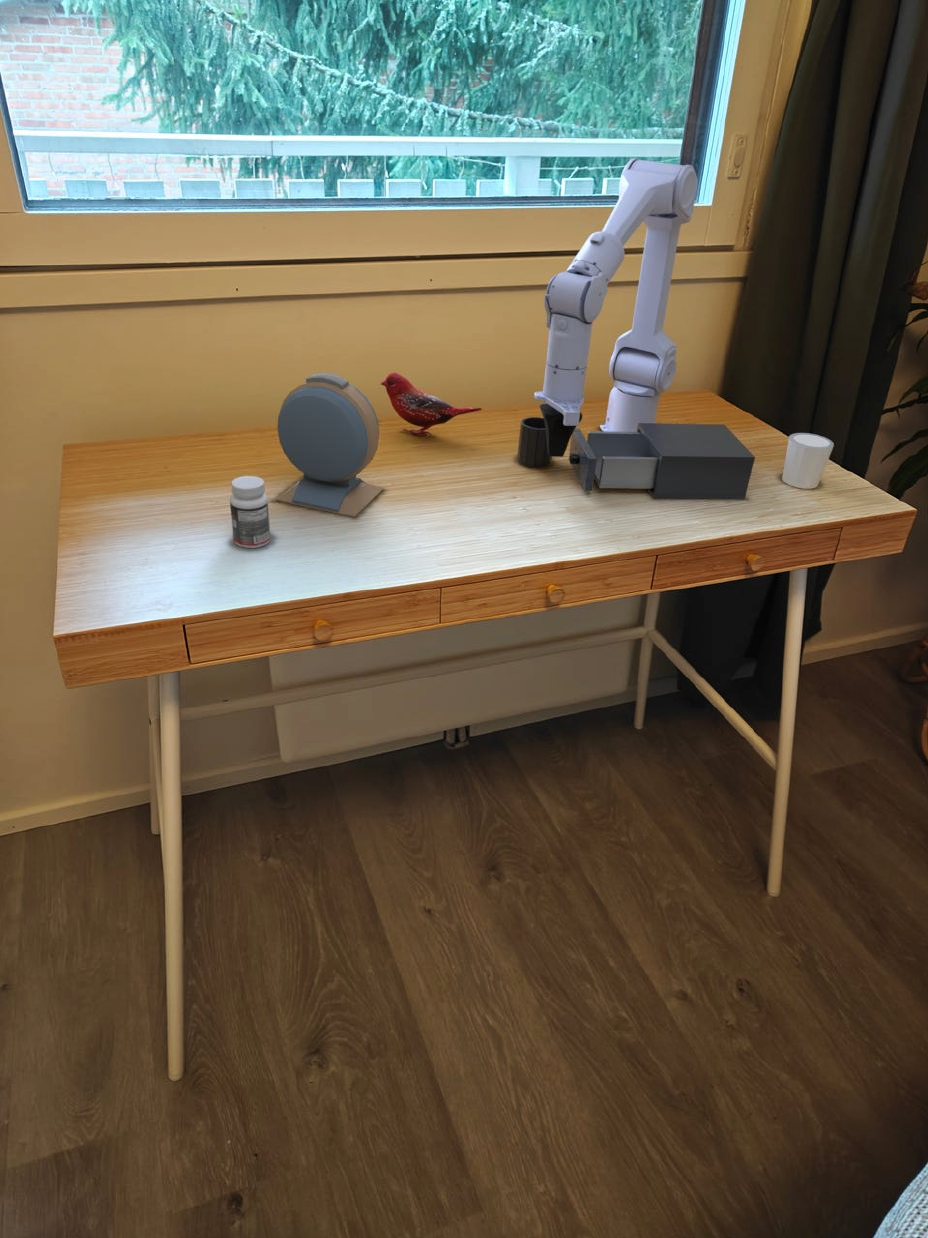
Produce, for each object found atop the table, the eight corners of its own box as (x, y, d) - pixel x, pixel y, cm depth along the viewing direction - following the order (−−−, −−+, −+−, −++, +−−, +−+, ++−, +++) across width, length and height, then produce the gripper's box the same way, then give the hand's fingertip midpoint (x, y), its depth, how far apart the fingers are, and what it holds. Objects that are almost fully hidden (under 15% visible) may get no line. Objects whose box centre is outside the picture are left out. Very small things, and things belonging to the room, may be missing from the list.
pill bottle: (236, 531, 119) (230, 473, 114) (272, 532, 119) (268, 474, 115) (231, 549, 115) (225, 489, 110) (268, 549, 115) (264, 490, 111)
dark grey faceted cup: (514, 455, 146) (517, 417, 143) (546, 454, 147) (550, 416, 144) (522, 468, 142) (526, 429, 138) (554, 467, 143) (559, 428, 139)
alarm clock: (388, 491, 132) (390, 373, 122) (361, 518, 124) (360, 394, 114) (302, 473, 135) (296, 357, 126) (269, 499, 128) (261, 377, 118)
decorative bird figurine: (382, 425, 154) (383, 368, 149) (481, 441, 151) (485, 383, 145) (377, 431, 152) (377, 373, 146) (477, 447, 148) (481, 388, 143)
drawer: (576, 491, 134) (581, 458, 131) (561, 458, 144) (564, 428, 141) (670, 491, 135) (677, 459, 133) (648, 459, 146) (654, 429, 143)
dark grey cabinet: (653, 498, 135) (661, 455, 131) (631, 463, 146) (637, 422, 142) (744, 499, 137) (755, 457, 133) (715, 464, 148) (724, 424, 144)
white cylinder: (824, 492, 140) (837, 450, 137) (780, 486, 141) (791, 445, 138) (819, 475, 146) (831, 435, 142) (776, 470, 147) (786, 429, 143)
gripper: (529, 347, 131) (521, 436, 138) (547, 379, 119) (537, 474, 126) (577, 349, 131) (566, 436, 139) (599, 381, 119) (586, 475, 127)
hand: (555, 454), depth 132 cm, fingers closed
